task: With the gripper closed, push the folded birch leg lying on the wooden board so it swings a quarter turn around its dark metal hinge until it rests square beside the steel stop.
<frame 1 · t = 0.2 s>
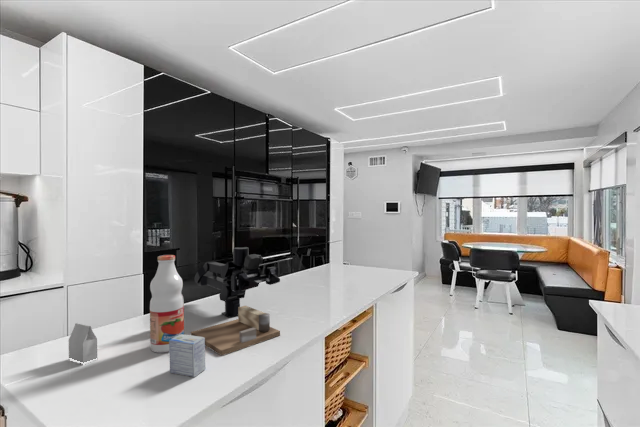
hand: (269, 282, 112), 17 cm above the counter, tool horizontal, fingers open, 9 cm apart
fruit juice: (167, 347, 99), on the counter
medicine box: (187, 372, 83), on the counter
grey milk carton: (83, 360, 90), on the counter
hinged leg: (254, 318, 111), point 4 cm above the counter, hinge at 0.0°
wooden board: (235, 335, 107), on the counter
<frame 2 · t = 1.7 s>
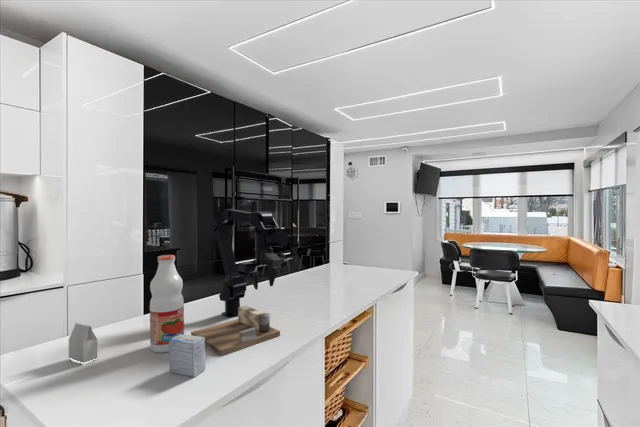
hand: (263, 287, 119), 13 cm above the counter, tool pointing down, fingers open, 6 cm apart
nothing on the counter moved.
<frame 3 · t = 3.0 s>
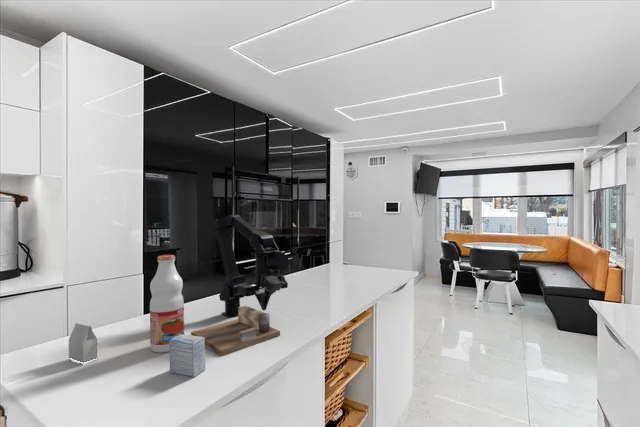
hand: (264, 310, 119), 5 cm above the counter, tool pointing down, fingers closed
nothing on the counter moved.
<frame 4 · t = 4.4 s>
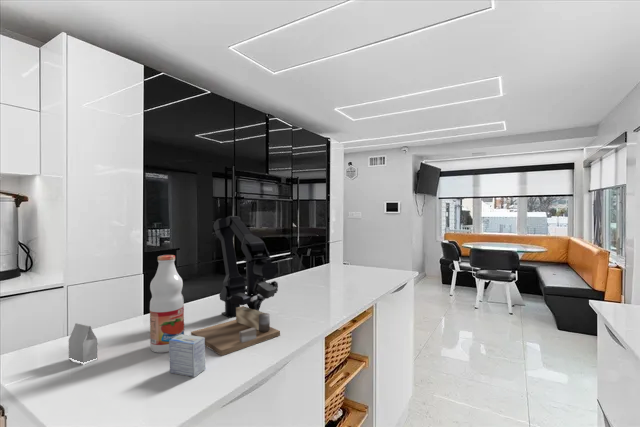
hand: (255, 317, 117), 3 cm above the counter, tool pointing down, fingers closed
hinged leg: (253, 318, 111), point 4 cm above the counter, hinge at 4.0°, touching gripper
everything else where it was.
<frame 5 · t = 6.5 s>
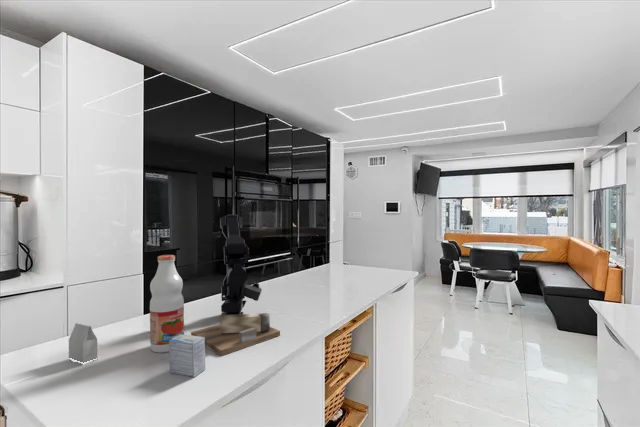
hand: (236, 323, 110), 3 cm above the counter, tool pointing down, fingers closed
hinged leg: (245, 323, 107), point 4 cm above the counter, hinge at 50.3°, touching gripper
everything else where it was.
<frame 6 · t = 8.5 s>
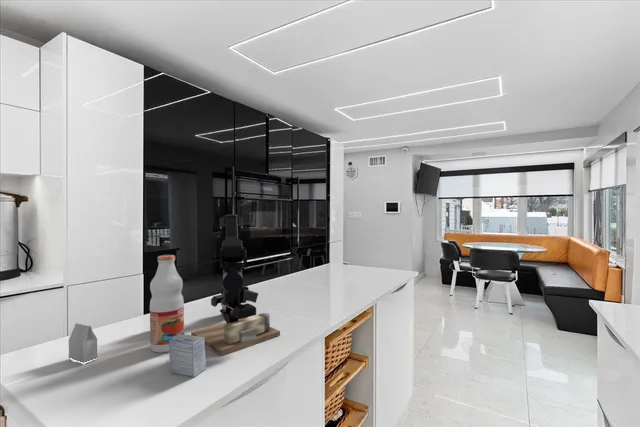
hand: (232, 331, 103), 3 cm above the counter, tool pointing down, fingers closed
hinged leg: (248, 327, 103), point 4 cm above the counter, hinge at 92.7°, touching gripper, wooden board
everything else where it was.
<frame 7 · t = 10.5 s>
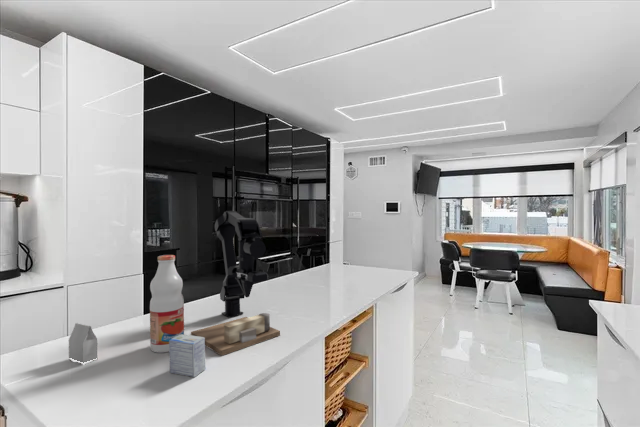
hand: (247, 297, 115), 11 cm above the counter, tool pointing down, fingers closed
hinged leg: (248, 327, 103), point 4 cm above the counter, hinge at 92.7°
everything else where it was.
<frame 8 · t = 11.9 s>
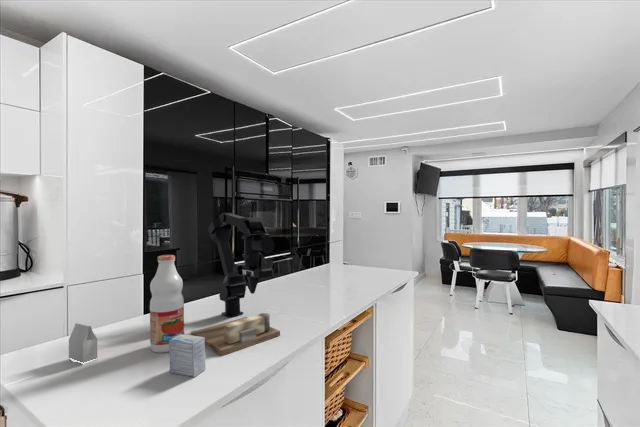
hand: (252, 293, 119), 11 cm above the counter, tool pointing down, fingers closed
nothing on the counter moved.
at the end: hinged leg at +93° (first picture: +0°); fruit juice tilted 0° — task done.
